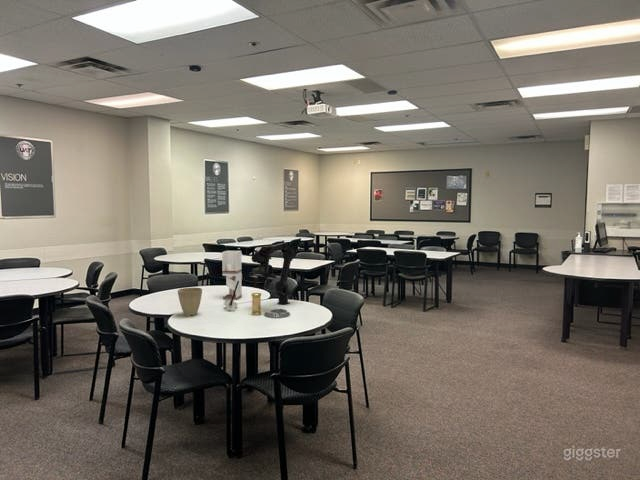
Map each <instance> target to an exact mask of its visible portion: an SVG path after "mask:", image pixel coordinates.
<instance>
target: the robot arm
mask: <svg viewBox="0 0 640 480" xmlns="http://www.w3.org/2000/svg"><path fill="white" fill-rule="evenodd" d="M278 251H280V252H281V253H282V258H283V264H282V268H281V272H280V278H279V280H278V281H276V282H275V293H276V296H278V302H276V304H277V305H283V306H284V305H288V304H290V302H289V296H291V292H292V291H291V290H290V289H289V283H288V279H289V278H288V277H289V271H290V267H291V262H292V261H293V260H294V259H295V255H296V251H295V249H294V248H293V247H292V246H291V245H289V244H288V243H287V242H280V243H276V244H273V245H262V246H261V248H259V250H258V251H255V252H254V254H252V256H251V261H252V262H253V263H256V264H259V265H258V266H257V267H255V268H252V271H250V272H249V273H248V276H249V277H250V278H251V279H252V282H253V288H254V289H256V288H257V286H258V282H259V277H262V278H265V285H264V289H265V290H267V289H268V287H269V286H270V285H271V283H273V281H275V280H276V279H277V274H274V273H269V269H270V266H269V265H270V260H272V257H271V255H273V254H274V252H278Z"/></svg>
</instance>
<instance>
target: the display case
mask: <svg viewBox="0 0 640 480" xmlns="http://www.w3.org/2000/svg"><path fill="white" fill-rule="evenodd" d="M221 254H222V255H221V256H222V257H221V258H222V263H221V264H222V267H221V269H222V276H224V277H225V278H226V279H225V280H226V281H225V282H226V283H225V284H226V287H227V288H228V290H229V291H228V294H225V295H224V296H222V300H223V301H225V300H231V299H232V296H233V293H234V290H235V287H236V284H237V281H239V283H238V286H237V289H236V293H235V296H234V299H233V301H239V300H240V299H242V298H243V292H242V291H243V289H242V287H243V285H242V284H243V283H242V280H243V279H242V278H243V277H242V276H243V275H242V267H243V266H242V250H224V251H222V253H221Z"/></svg>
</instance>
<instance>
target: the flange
mask: <svg viewBox="0 0 640 480" xmlns="http://www.w3.org/2000/svg"><path fill="white" fill-rule="evenodd" d="M263 315H264V317H265V318H269V319H283V318H287V317H289V316H290V315H291V312H290V311H288V310H287V309H284V308H272V309H267V311H266V312H264V314H263Z"/></svg>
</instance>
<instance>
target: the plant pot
mask: <svg viewBox="0 0 640 480" xmlns="http://www.w3.org/2000/svg"><path fill="white" fill-rule="evenodd" d="M202 293H203V288H201V287H183V288H179V289H177V295H178V300H179V304H180V307H181V309H182V312H183V314H184V316H185V315H187V316H186V317H192V316H191V315H194V316H196V315H197V314H198V311H199V308H200V305H201V300H202V295H203V294H202Z"/></svg>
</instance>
